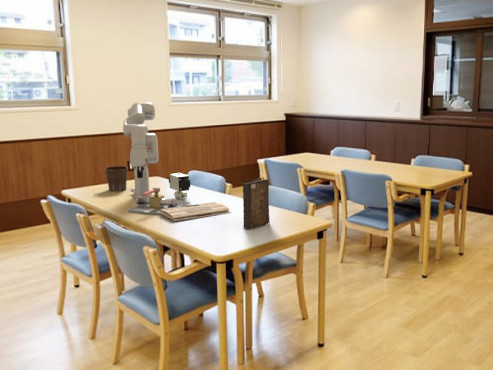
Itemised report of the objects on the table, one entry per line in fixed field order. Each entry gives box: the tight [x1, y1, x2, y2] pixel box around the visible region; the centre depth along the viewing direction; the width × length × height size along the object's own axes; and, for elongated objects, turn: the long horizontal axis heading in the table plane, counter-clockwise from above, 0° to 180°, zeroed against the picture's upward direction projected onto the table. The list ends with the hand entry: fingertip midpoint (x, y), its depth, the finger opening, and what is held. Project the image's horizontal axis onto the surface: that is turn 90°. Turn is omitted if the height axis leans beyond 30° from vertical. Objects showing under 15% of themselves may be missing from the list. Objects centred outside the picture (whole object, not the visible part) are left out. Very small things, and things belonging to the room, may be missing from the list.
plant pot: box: [104, 165, 129, 192], centre depth 350 cm, size 16×16×16 cm
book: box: [242, 177, 270, 230], centre depth 257 cm, size 17×7×25 cm, turn 133°
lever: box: [143, 187, 161, 196], centre depth 288 cm, size 16×4×2 cm, turn 161°
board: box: [127, 203, 186, 216], centre depth 295 cm, size 26×25×1 cm
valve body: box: [135, 192, 179, 209], centre depth 295 cm, size 25×6×9 cm, turn 71°
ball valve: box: [168, 171, 191, 200], centre depth 321 cm, size 18×8×18 cm, turn 36°
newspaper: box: [160, 201, 231, 222], centre depth 284 cm, size 37×19×3 cm, turn 124°
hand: (140, 177), depth 284 cm, fingers closed
